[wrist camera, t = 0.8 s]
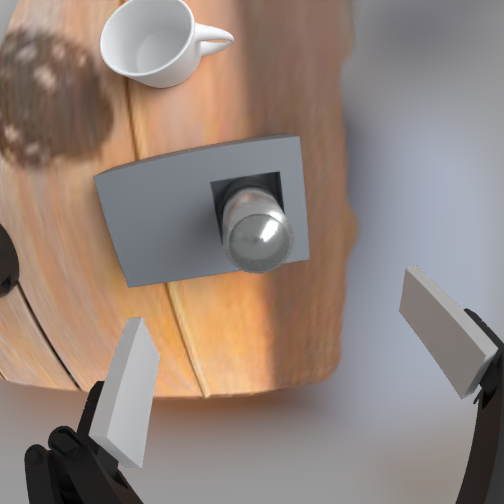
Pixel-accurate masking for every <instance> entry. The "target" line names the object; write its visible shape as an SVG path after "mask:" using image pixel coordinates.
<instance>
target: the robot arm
mask: <svg viewBox="0 0 504 504" xmlns="http://www.w3.org/2000/svg"><path fill="white" fill-rule="evenodd" d="M18 278H19V263H18V258H17V254H16V251H15V248H14V245H13V243H12V241H11V239H10V237H9V235H8V234H7V232H6V231H5V229H4V228H3V227H2V225H1V224H0V298H1V297H4V296H6V295H7V294H8V293H9V292H10V291H11V290H12V289H13V288H14V287H15V286H16V284H17V282H18ZM399 312H400V313H401V314H402V316H403V317H404V318H405V319H406V321H407V322H408V324H409V325H410V326H411V328H412V329H413V330H414V332H415V333H416V334H417V336H418V337H419V338H420V340H421V341H422V342H423V344H424V345H425V346H426V348H427V349H428V351H429V352H430V354H431V355H432V356H433V358H434V359H435V361H436V362H437V363H438V365H439V366H440V368H441V369H442V371H443V372H444V374H445V375H446V377H447V378H448V380H449V381H450V383H451V384H452V386H453V387H454V389H455V390H456V392H457V393H458V395H459V396H460V398H461V399H463V398H465V397H467V396H468V395H470V394H472V393H474V391H475V389H476V388H477V386H478V384H480V386H481V387H482V389H481V390H480V392H479V394H478V395H477V397H476V398H475V400H474V403H473V404H475V403H476V402H477V400H478V399H479V403H478V412H477V419H476V425H475V431H474V437H473V442H472V447H471V451H470V456H469V460H468V464H467V468H466V472H465V475H464V479H463V482H462V485H461V489H460V492H459V495H458V498H457V501H456V504H504V343H503V342H502V341H501V340H500V339H499V338H498V337H497V335H496V334H495V333H494V332H493V331H492V330H491V329H490V328H489V327H487V325H486V324H485V323H484V322H482V319H481V318H480V317H479V316H478V315H477V314H476V313H474V312H472V311H471V310H469V309H467V308H466V309H464V310H463V309H462V308H461V307H460V306H459V305H457V303H456V302H455V301H454V300H453V299H452V298H451V297H450V296H449V295H448V294H446V292H445V291H444V290H443V289H442V288H441V287H440V286H439V285H438V284H437V283H435V282H434V281H433V280H432V279H431V278H430V277H429V276H428V275H427V274H426V273H425V272H424V271H423V270H422V269H421V268H419V267H418V266H413V267H409V268H406V269H405V276H404V284H403V291H402V297H401V303H400V309H399ZM159 362H160V355H159V353H158V351H157V349H156V346H155V344H154V342H153V340H152V338H151V336H150V334H149V332H148V330H147V327H146V325H145V323H144V321H143V318H142V317H137V318H128V320H127V322H126V325H125V327H124V330H123V332H122V335H121V338H120V340H119V343H118V346H117V348H116V351H115V354H114V357H113V359H112V362H111V365H110V368H109V371H108V374H107V377H106V379H105V381H97V382H96V383H95V385H94V386H93V387H92V389H91V390H90V393H89V396H88V398H87V400H88V401H86V405H85V409H84V410H83V414H82V417H81V420H80V423H79V426H78V429H77V433H76V432H75V431H74V430H73V429H72V428H70V427H68V426H60V427H57V428H56V429H55V430H53V431H52V433H51V434H50V436H49V439H48V446H49V448H50V449H51V450H46V449H45V448H44V447H43V446H41V445H39V444H35V445H32V446H31V447H29V448H28V450H27V451H26V453H25V459H24V461H25V473H26V482H27V490H28V497H29V503H30V504H143V502H142V501H141V500H140V498H139V497H138V496H137V494H136V493H135V492H134V490H133V489H132V487H131V486H130V485H129V483H128V482H127V480H126V479H125V477H124V476H123V474H122V473H121V472H120V471H119V469H118V468H117V467H118V462H119V463H121V464H122V465H123V466H124V467H126V468H138V469H142V465H143V457H144V450H145V443H146V436H147V429H148V423H149V417H150V411H151V405H152V399H153V393H154V388H155V382H156V377H157V372H158V367H159Z"/></svg>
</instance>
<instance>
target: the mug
mask: <svg viewBox="0 0 504 504" xmlns="http://www.w3.org/2000/svg"><path fill="white" fill-rule="evenodd" d="M218 39H224V40H229V41H228V42H224V43H211V42H205V41H207V40H218ZM233 40H234V39H233V36H232V35H231V34H230V33H228V32H226V31H224V30H222V29H218V28H215V27H211V26H206V25H201V24H197V23H195V21H194V17H193V14H192V12H191V10H190V8H189V7H188V6H187V5H186V3H184V2H183V1H182V0H129V1H128V2H126V3H124V4H123V5H122V6H120V7H119V8H118V9H117V10H116V11H115V12H114V13H113V14H112V15H111V16H110V17H109V19H108V20H107V22H106V23H105V25H104V27H103V30H102V32H101V36H100V53H101V56H102V58H103V60H104V62H105V63H106V65H107V66H108V67H109V68H110V69H112V70H113V71H115V72H117V73H119V74H121V75H123V76H126V77H128V78H131V79H133V80H136V81H138V82H140V83H143V84H145V85H148V86H151V87H156V88H167V87H172V86H175V85H178V84H180V83H182V82H184V81H185V80H187V79H188V78H189V77H190V76H191V75H192V74H193V73H194V72H195V71H196V69H197V67H198V66H199V63H200V61H201V58H202V57H203V56H207V55H210V54H214V53H217V52H219V51H222V50H224V49H226V48H227V47H229V46H230V45H231V44H232V43H233Z"/></svg>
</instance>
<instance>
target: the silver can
mask: <svg viewBox="0 0 504 504" xmlns="http://www.w3.org/2000/svg"><path fill="white" fill-rule="evenodd" d="M221 216H222V222H223V249H224V253H225V255H226V257H227V258H228V260H229V261H230V262H231V263H232V264H233V265H234V266H235V267H237V268H238V269H240V270H242V271H245V272H249V273H265V272H268V271H271V270H273V269H276V268H277V267H279V266H280V265H281V264H283V263H284V262H285V261H286V259H287V258H288V257H289V255H290V253H291V251H292V249H293V245H294V233H293V229H292V227H291V225H290V223H289V221H288V219H287V218H286V216H285V215H284V213H283V211H282V210H281V208H280V205H279V202H278V200H277V199H276V197H275V196H274V195H273V193H272V192H270V190H269V189H268V187H267V186H266V184H265V183H264V182H262V181H261V180H260V179H258V178H255V177H250V176H245V177H240V178H237V179H235V180H234V181H232V182H231V183H230V184H229V185H228V187H227V188H226V190H225V193H224V197H223V206H222V215H221Z"/></svg>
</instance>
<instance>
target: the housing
mask: <svg viewBox="0 0 504 504" xmlns="http://www.w3.org/2000/svg"><path fill="white" fill-rule="evenodd" d="M245 176H250V177H255V178H258V179H260V180H261V181H262V182H264V183H265V184H266V186H267V187H268V189H269V190H270V192H272V193H273V195H274V196H275V197H276V199H277V200H278V202H279V205H280V208H281V210H282V211H283V213H284V215H285V216H286V218H287V219H288V221H289V223H290V225H291V227H292V229H293V233H294V245H293V249H292V251H291V253H290V255H289V257H288V258H287V259H286V261H285V262H284V263H289V262H295V261H301V260H307V259H309V242H308V227H307V213H306V200H305V188H304V177H303V167H302V157H301V148H300V139H299V136H296V135H291V134H280V135H272V136H264V137H256V138H249V139H242V140H235V141H229V142H223V143H217V144H211V145H206V146H201V147H195V148H190V149H185V150H181V151H176V152H171V153H167V154H163V155H158V156H154V157H150V158H146V159H142V160H138V161H134V162H130V163H127V164H123V165H119V166H116V167H113V168H110V169H108V170H106V171H104V172H102V173H100V174H98V175H96V176H94V180H95V184H96V188H97V192H98V195H99V199H100V203H101V206H102V210H103V213H104V217H105V220H106V223H107V227H108V230H109V233H110V236H111V239H112V242H113V245H114V248H115V251H116V254H117V257H118V260H119V263H120V266H121V268H122V271H123V274H124V277H125V279H126V282H127V284H128V287H129V288H131V287H138V286H144V285H151V284H158V283H165V282H171V281H178V280H184V279H191V278H197V277H204V276H210V275H216V274H223V273H229V272H235V271H241V270H240V269H238V268H237V267H235V266H234V265H233V264H232V263H231V262H230V261H229V260H228V258H227V257H226V255H225V253H224V249H223V222H222V216H221V215H222V206H223V197H224V193H225V190H226V188H227V187H228V185H229V184H230V183H231V182H232V181H234V180H235V179H237V178H240V177H245Z"/></svg>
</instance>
